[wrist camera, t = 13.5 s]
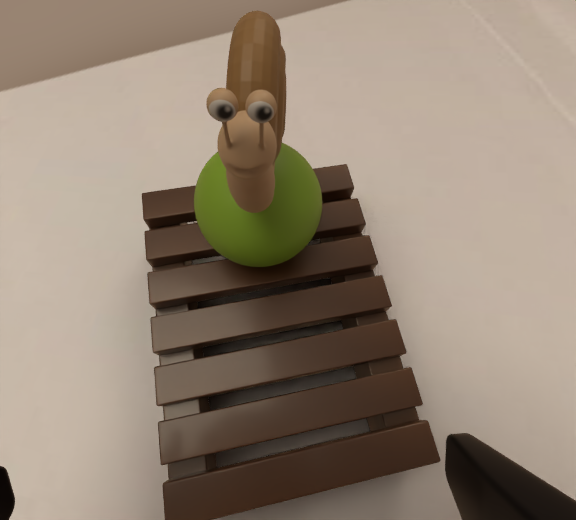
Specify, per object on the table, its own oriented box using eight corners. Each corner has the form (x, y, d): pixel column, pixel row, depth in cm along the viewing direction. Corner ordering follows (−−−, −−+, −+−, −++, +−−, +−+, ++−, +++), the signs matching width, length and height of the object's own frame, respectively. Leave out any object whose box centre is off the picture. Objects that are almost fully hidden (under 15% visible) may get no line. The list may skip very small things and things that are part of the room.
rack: (407, 452, 19) (441, 461, 15) (186, 506, 17) (164, 532, 14) (334, 201, 24) (347, 163, 20) (161, 228, 23) (141, 192, 19)
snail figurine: (198, 303, 17) (68, 99, 6) (209, 184, 19) (132, -119, 8) (316, 305, 17) (404, 112, 6) (312, 187, 20) (371, -102, 9)
